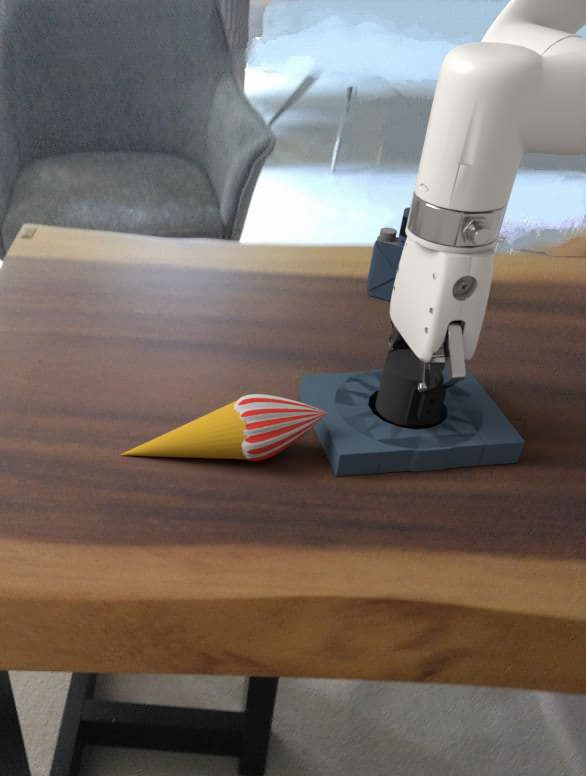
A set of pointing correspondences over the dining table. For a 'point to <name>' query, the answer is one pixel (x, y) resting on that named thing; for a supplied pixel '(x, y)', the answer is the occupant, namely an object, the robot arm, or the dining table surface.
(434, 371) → the dark grey cylinder
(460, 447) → the base pad
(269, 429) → the ice cream cone
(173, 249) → the dining table surface
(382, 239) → the vaping device
